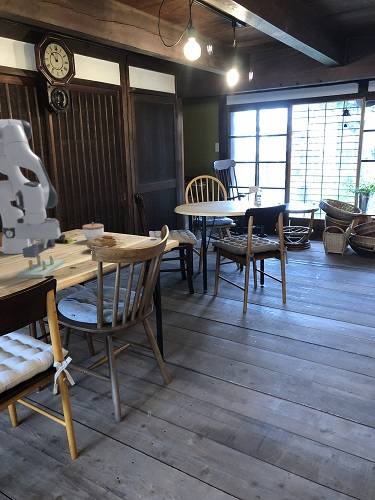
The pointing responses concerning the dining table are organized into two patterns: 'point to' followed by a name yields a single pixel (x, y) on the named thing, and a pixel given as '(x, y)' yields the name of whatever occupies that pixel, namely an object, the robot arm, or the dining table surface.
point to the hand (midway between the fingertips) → (39, 248)
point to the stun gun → (63, 239)
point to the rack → (40, 268)
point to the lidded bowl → (92, 230)
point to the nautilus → (103, 241)
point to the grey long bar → (37, 248)
